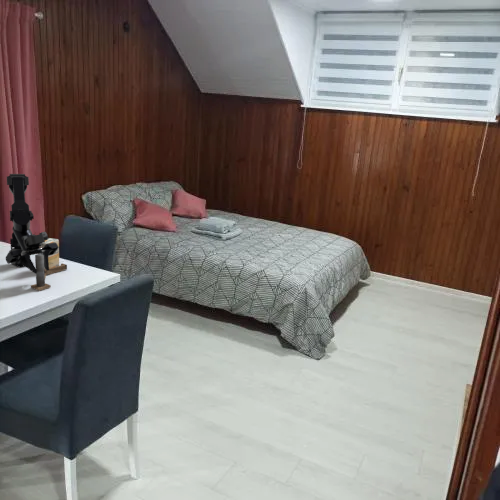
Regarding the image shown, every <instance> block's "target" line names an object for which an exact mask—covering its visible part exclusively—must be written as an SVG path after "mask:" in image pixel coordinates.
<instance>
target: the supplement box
mask: <svg viewBox="0 0 500 500" xmlns="http://www.w3.org/2000/svg"><path fill="white" fill-rule="evenodd" d="M53 242H55V243H57V245H58V247H59V248H58V249H57V251H56V252H55V253H54V254H53V255H50V256H48V262H49V268H53V267H57V266H60V240H59V239H58V238H50V237H48V240H45V242H43V243H41V244H42V245H41V246H40V247H39V248H44V246H45V245H46V244H48V243H53ZM44 269H45V267H44Z"/></svg>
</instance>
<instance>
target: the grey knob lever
mask: <svg viewBox="0 0 500 500" xmlns="http://www.w3.org/2000/svg"><path fill="white" fill-rule="evenodd" d="M34 259H35V265H34V266H35V268H36V271H37V273H35V284H31V285H30V288H31V289H34V290H36V291H38V292H39V291H42V290H43V291H44V290H46V289H49V288H51V285H50V284H48V283H46V278H47V275H51V274H54V273H58V272H59V273H60V272H62V271H65V270H68V264H66V263H63V262H62V263H60V264H59V266H57V267H53V268H49V270H48V271H47V270H46V269H44V255H43V254H34Z"/></svg>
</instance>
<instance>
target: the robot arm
mask: <svg viewBox="0 0 500 500" xmlns="http://www.w3.org/2000/svg"><path fill="white" fill-rule="evenodd" d="M29 180H30V179H29V176H27V175H26V174H25V173H9V175H7V176H6V185H7V186H8V190H9V191H10V193H11V194H12V196H13V202H12V204H11V206H10V207H11V210H9V220H10V222H12V224H13V225H12V229H11V230H12V234H11V238H10V239H9V240H10V241H9V242H10V250H9V251H8V252H7V254H6V256H5V261H6V263H7V264H11V265H13V266H16V267H18V268H24V267H25V268H27V269H28V270H29V271H31V272H32V273H33V274H36V273H37V271H36V266H35V265H34V262H33V261H32V259H31V256H32V255H33V256H35V255H37V254H43V255H44V267H45V269H46V270H47V271H48V270H49V262H48V256H50V255H53V254H54V253H55V252H56V251H57V249H58V248H59V249H60V246H59V247H58V245H57V243H55V242H53V243H48V244H46V245H45V246H44V248H39V247H40V246H41V245H42V244H41V243H43V242H45V240H48V239H49V236H48V234H47V232H46V231H41V232H39V234H35V233H34V234H33V233H32V231H31V221H33V220H34V213H33V212H32V210H30V205H29V204H28V203H27V202H26V195H25V193H26V191H28V186H30V181H29Z"/></svg>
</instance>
